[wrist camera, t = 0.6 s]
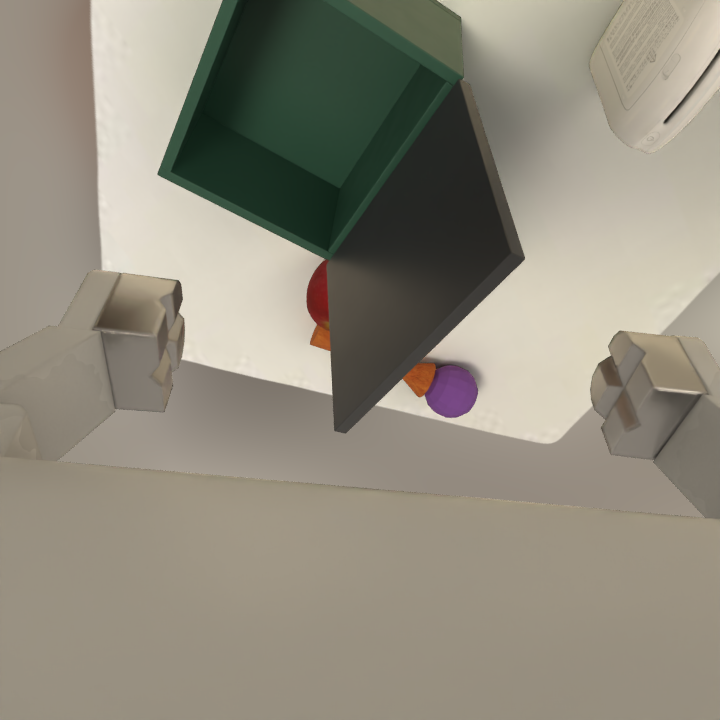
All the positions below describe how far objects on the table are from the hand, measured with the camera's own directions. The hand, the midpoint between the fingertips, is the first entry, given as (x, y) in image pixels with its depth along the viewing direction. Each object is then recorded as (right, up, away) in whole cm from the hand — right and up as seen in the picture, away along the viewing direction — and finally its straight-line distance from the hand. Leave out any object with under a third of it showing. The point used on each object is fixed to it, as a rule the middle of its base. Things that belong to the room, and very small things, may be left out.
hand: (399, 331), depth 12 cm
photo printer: (+19, +24, +32) cm, 45 cm away
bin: (-4, +22, +37) cm, 44 cm away
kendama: (+4, +1, +61) cm, 61 cm away
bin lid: (+1, +6, +28) cm, 29 cm away
